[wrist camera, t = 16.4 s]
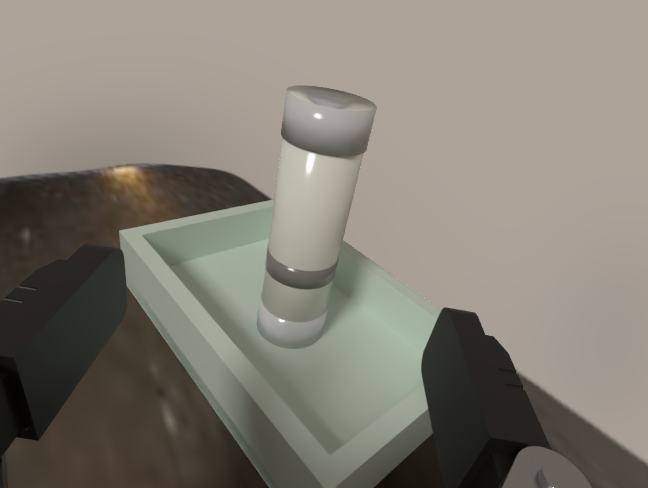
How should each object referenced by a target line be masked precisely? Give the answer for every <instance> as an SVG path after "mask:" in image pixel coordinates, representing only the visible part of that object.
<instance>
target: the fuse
mask: <svg viewBox="0 0 648 488" xmlns="http://www.w3.org/2000/svg"><path fill="white" fill-rule="evenodd" d="M375 112H376V106H375V104H374V103H373V102H371V101H369V100H367V99H365V98H362V97H360V96H357V95H354V94H351V93H347V92H343V91H339V90H334V89H329V88H323V87H316V86H292V87H289V88H287V91H286V98H285V106H284V114H283V121H282V129H281V135H282V137H283V138H282V145H281V153H280V161H279V168H278V176H277V184H276V191H275V198H274V206H273V213H272V221H271V229H270V236H269V243H268V247H267V255H266V262H265V274H264V282H263V289H262V291H261V293H260V299H259V307H258V314H257V328H258V331H259V333H260V334H261V335H262V337H263V338H264V339H266V340H267V341H268V342H270V343H272V344H274V345H276V346H279V347H282V348H287V349H300V348H305V347H308V346H311V345H312V344H314V343H315V342H317V341H318V340H319V338H320V337H321V335H322V332H323V328H324V324H325V319H326V315H327V311H328V306H329V303H328V300H329V296H330V291H331V287H332V283H333V279H334V277H335V273H336V268H337V264H338V260H339V254H340V249H341V245H342V241H343V237H344V232H345V228H346V224H347V220H348V216H349V211H350V207H351V203H352V199H353V195H354V191H355V186H356V182H357V178H358V174H359V170H360V165H361V161H362V156H363V153H364V152H365V151H366V149H367V145H368V141H369V137H370V133H371V129H372V124H373V120H374V116H375Z"/></svg>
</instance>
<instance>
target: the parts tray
mask: <svg viewBox="0 0 648 488" xmlns="http://www.w3.org/2000/svg"><path fill="white" fill-rule="evenodd" d="M273 206H274V200H270V201H265V202H260V203H255V204H250V205H245V206H240V207H235V208H230V209H225V210H220V211H215V212H210V213H205V214H200V215H195V216H190V217H185V218H180V219H175V220H170V221H165V222H160V223H155V224H150V225H145V226H140V227H135V228H131V229H126V230H121V231H119V234H120V246H121V250H122V251H123V254H124V262H125V274H126V285H127V287H128V288H129V290H130V291H131V292H132V294H133V295H134V297H135V298H136V300H137V301H138V302H139V304H140V305H141V307H142V308H143V310H144V311H145V312H146V314H147V315H148V317H149V318H150V319H151V321H152V322H153V324H154V325H155V327H156V328H157V329H158V331H159V332H160V334H161V335H162V336H163V338H164V339H165V341H166V342H167V344H168V345H169V346H170V348H171V349H172V351H173V352H174V354H175V355H176V356H177V358H178V359H179V361H180V362H181V363H182V365H183V366H184V368H185V369H186V371H187V372H188V373H189V375H190V376H191V378H192V379H193V381H194V382H195V383H196V385H197V386H198V388H199V389H200V390H201V392H202V393H203V395H204V396H205V398H206V399H207V400H208V402H209V403H210V405H211V406H212V408H213V409H214V410H215V412H216V413H217V415H218V416H219V417H220V419H221V420H222V422H223V423H224V425H225V426H226V427H227V429H228V430H229V432H230V433H231V435H232V436H233V437H234V439H235V440H236V442H237V443H238V444H239V446H240V447H241V449H242V450H243V452H244V453H245V454H246V456H247V457H248V459H249V460H250V461H251V463H252V464H253V466H254V467H255V469H256V470H257V471H258V473H259V474H260V476H261V477H262V479H263V480H264V481H265V483H266V484H267V486H268V487H269V488H374V487H375V486H376V485H377V484H378V483H379V482H380V481H381V480H383V479H384V478H385V477H386V476H387V475H388V474H389V473H390V472H391V471H392V470H393V469H394V468H396V467H397V466H398V465H399V464H400V463H401V462H402V461H403V460H404V459H405V458H406V457H407V456H409V455H410V454H411V453H412V452H413V451H414V450H415V449H416V448H417V447H418V446H419V445H420V444H422V443H423V442H424V441H425V440H426V439H427V438H428V437H429V436H430V435H431V434H432V433H433V431H432V426H431V421H430V416H429V410H428V405H427V400H426V395H425V390H424V385H423V379H422V374H421V362H422V356H423V352H424V349H425V347H426V344H427V342H428V340H429V337H430V335H431V333H432V330H433V328H434V326H435V323H436V321H437V319H438V316H439V314H440V312H441V309H440V308H438V307H437V306H435V305H434V304H433V303H431V302H430V301H428V300H427V299H425V298H424V297H422V296H421V295H420V294H418V293H417V292H415V291H414V290H413V289H411V288H410V287H408V286H407V285H406V284H404V283H403V282H401V281H400V280H398V279H397V278H396V277H394V276H393V275H391V274H390V273H388V272H387V271H385V270H384V269H383V268H381V267H380V266H378V265H377V264H376V263H374V262H373V261H371V260H370V259H369V258H367V257H366V256H364V255H363V254H361V253H360V252H359V251H357V250H356V249H354V248H353V247H352V246H350V245H349V244H347V243H346V242H344V241H342V245H341V249H340V254H339V260H338V264H337V268H336V273H335V277H334V279H333V283H332V287H331V291H330V296H329V300H328V303H329V306H328V311H327V315H326V319H325V324H324V328H323V332H322V335H321V337H320V338H319V340H318V341H317V342H315V343H314V344H312V345H311V346H308V347H305V348H300V349H287V348H282V347H279V346H276V345H274V344H272V343H270V342H268V341H267V340H266V339H264V338H263V337H262V335H261V334H260V333H259V331H258V328H257V314H258V307H259V299H260V293H261V291H262V289H263V282H264V274H265V262H266V255H267V247H268V243H269V236H270V229H271V221H272V213H273Z"/></svg>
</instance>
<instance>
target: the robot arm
mask: <svg viewBox="0 0 648 488" xmlns="http://www.w3.org/2000/svg"><path fill="white" fill-rule="evenodd" d="M126 307H127V286H126V274H125V262H124V254H123V251H122V250H121V249H119V248H114V247H108V246H102V245H97V244H91V243H86V244H84V245H83V246H82V247H81V248H79V249H78V250H77V251H76V252H75V253H74V254H73V255H72V256H71V257H70V258H69V259H68V260H67V261H66V260H60V259H59V260H57V261H55V262H53V263H50V264H48V265H46V266H44V267H42V268H40V269H38V270H36V271H35V272H34V273H32V274H31V275H30V276H29V277H28V278H27V279H26V280H24V281H23V282H22V283H21V284H20V285H19V288H15V289H14V290H13V291H12V292H11V293H10V294H9V295H7V296H6V297H5V300H4V301H1V302H0V488H8V478H7V463H6V456H5V451H6V450H7V449H8V447H9V446H10V445H11V443H12V442H13V441H14V439H15V438H16V437H18V438H25V439H31V440H38V441H39V439H40V438H41V436H42V435H43V433H44V432H45V431H46V429H47V428H48V426H49V425H50V423H51V422H52V420H53V419H54V418H55V416H56V415H57V413H58V412H59V410H60V409H61V408H62V406H63V405H64V403H65V402H66V400H67V399H68V397H69V396H70V395H71V393H72V392H73V390H74V389H75V387H76V386H77V385H78V383H79V382H80V380H81V379H82V377H83V376H84V374H85V373H86V372H87V370H88V369H89V367H90V366H91V364H92V363H93V362H94V360H95V359H96V357H97V356H98V354H99V353H100V351H101V350H102V349H103V347H104V346H105V344H106V343H107V341H108V340H109V339H110V337H111V336H112V334H113V333H114V331H115V330H116V328H117V327H118V326H119V324H120V323H121V321H122V319H123V317H124V314H125V311H126ZM421 374H422V379H423V385H424V390H425V395H426V400H427V405H428V410H429V416H430V421H431V426H432V431H433V436H434V442H435V447H436V452H437V457H438V462H439V468H440V473H441V478H442V483H443V488H592V487H591V486H590V484H589V482H588V481H587V479H586V478H585V477H584V475H583V474H582V473H581V472H580V471H579V470H578V469H577V467H575V466H574V465H573V464H572V463H571V462H570V461H569V460H567V459H566V458H565V457H563V456H561V455H560V454H558V453H556V452H554V451H552V450H551V448H550V446H549V443H548V441H547V439H546V437H545V434H544V432H543V430H542V428H541V425H540V423H539V421H538V419H537V416H536V414H535V412H534V410H533V407H532V405H531V403H530V401H529V398H528V396H527V394H526V392H525V390H523V385H522V383H521V381H520V378H519V376H518V375H516V369H515V367H514V365H513V363H512V361H511V358H510V356H509V354H508V352H507V351H506V350H505V349H504V348H503V347H502V346H501V345H500V343H499V342H498V341H497V340H496V339H495V338H494V337H493V336H488V335H485V333H484V331H483V328H482V326H481V323H480V321H479V318H478V316H477V315H476V313H473V312H468V311H462V310H457V309H451V308H443V309H442V310H441V312H440V314H439V316H438V319H437V321H436V323H435V326H434V328H433V330H432V333H431V335H430V337H429V340H428V342H427V344H426V347H425V349H424V352H423V356H422V362H421Z"/></svg>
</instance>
